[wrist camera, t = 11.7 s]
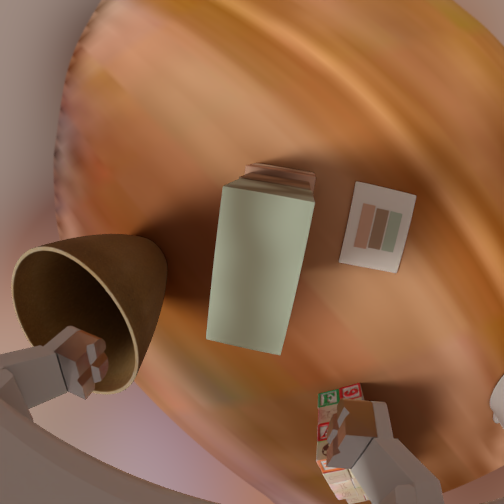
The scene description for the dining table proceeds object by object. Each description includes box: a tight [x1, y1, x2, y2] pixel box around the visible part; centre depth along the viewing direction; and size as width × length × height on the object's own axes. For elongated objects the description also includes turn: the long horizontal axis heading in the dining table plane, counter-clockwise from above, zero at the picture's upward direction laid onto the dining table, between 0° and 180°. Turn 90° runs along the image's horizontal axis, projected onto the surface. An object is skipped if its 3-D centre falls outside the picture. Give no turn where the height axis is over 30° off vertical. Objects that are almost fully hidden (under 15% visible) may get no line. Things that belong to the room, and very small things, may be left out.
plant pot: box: [11, 234, 167, 394], centre depth 30 cm, size 15×15×16 cm
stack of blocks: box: [316, 383, 369, 504], centre depth 36 cm, size 21×6×12 cm, turn 23°
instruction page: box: [339, 181, 416, 273], centre depth 31 cm, size 7×9×1 cm
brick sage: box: [206, 178, 315, 355], centre depth 20 cm, size 5×10×5 cm, turn 172°
